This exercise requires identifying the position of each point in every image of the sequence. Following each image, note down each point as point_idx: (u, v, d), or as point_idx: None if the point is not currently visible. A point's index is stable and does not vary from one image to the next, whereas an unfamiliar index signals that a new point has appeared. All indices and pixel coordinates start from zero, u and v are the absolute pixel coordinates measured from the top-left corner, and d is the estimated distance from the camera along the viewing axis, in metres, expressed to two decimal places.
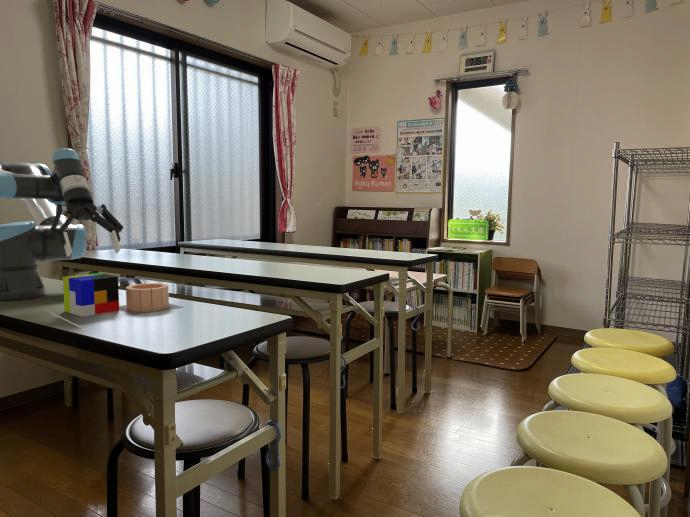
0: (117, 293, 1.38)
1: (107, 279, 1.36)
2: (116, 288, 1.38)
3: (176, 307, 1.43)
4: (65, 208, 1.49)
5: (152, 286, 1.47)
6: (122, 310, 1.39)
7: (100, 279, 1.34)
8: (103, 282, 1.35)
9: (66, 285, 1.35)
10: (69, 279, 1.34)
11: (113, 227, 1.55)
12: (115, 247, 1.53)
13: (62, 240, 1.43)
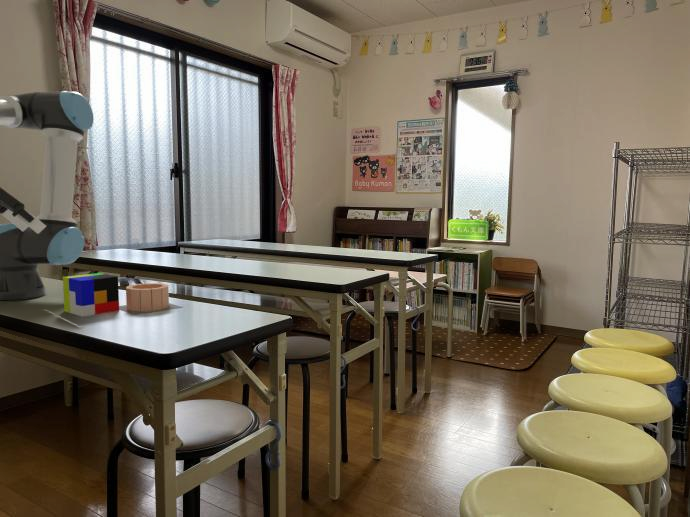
0: (117, 293, 1.38)
1: (107, 279, 1.36)
2: (116, 288, 1.38)
3: (176, 307, 1.43)
4: None
5: (152, 286, 1.47)
6: (122, 310, 1.39)
7: (100, 279, 1.34)
8: (103, 282, 1.35)
9: (66, 285, 1.35)
10: (69, 279, 1.34)
11: (12, 211, 1.22)
12: None
13: None
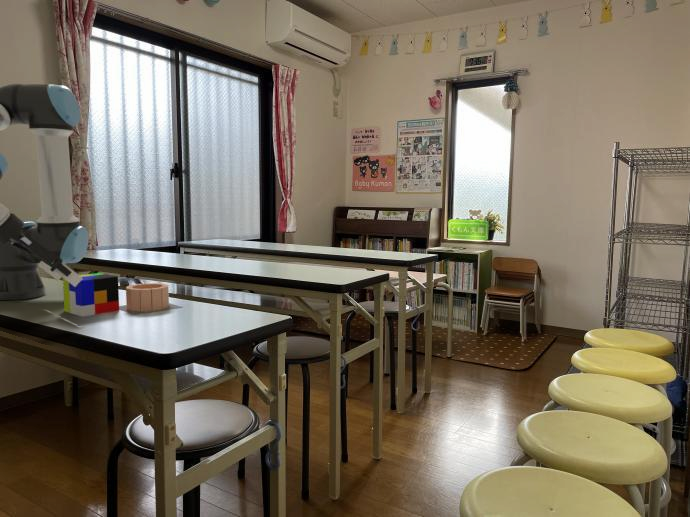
0: (117, 293, 1.38)
1: (107, 279, 1.36)
2: (116, 288, 1.38)
3: (176, 307, 1.43)
4: None
5: (152, 286, 1.47)
6: (122, 310, 1.39)
7: (100, 279, 1.34)
8: (103, 282, 1.35)
9: (66, 285, 1.35)
10: None
11: (50, 266, 1.22)
12: None
13: None
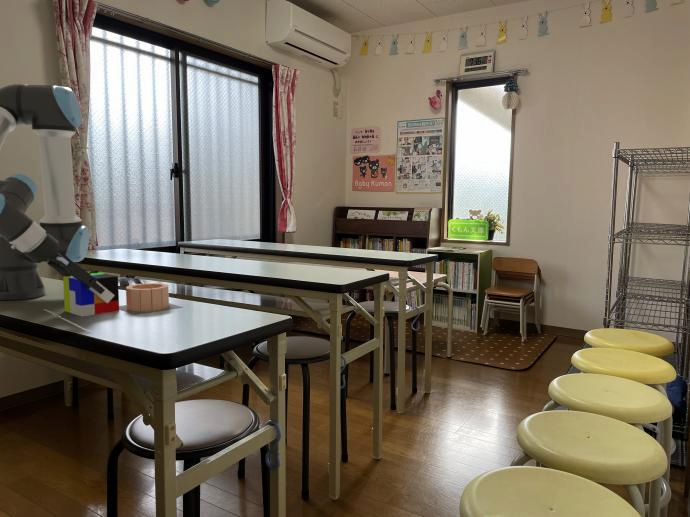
0: (117, 293, 1.38)
1: (107, 279, 1.36)
2: (116, 288, 1.38)
3: (176, 307, 1.43)
4: None
5: (152, 286, 1.47)
6: (122, 310, 1.39)
7: (100, 279, 1.34)
8: (103, 282, 1.35)
9: (66, 285, 1.35)
10: (69, 279, 1.34)
11: (85, 284, 1.30)
12: None
13: None
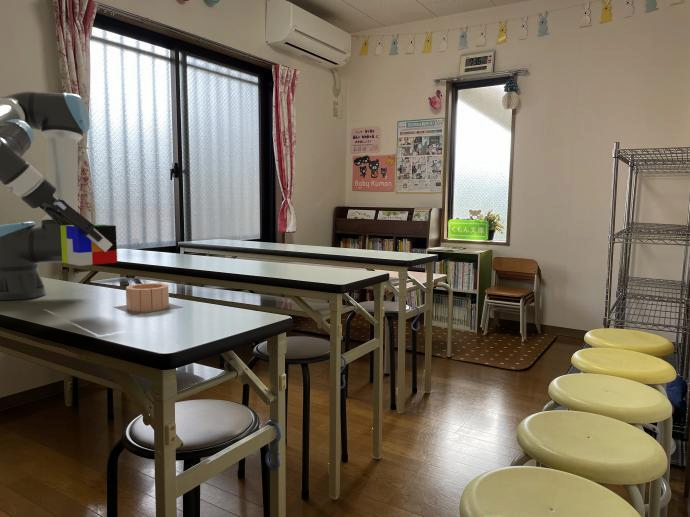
0: (115, 242, 1.37)
1: (105, 227, 1.34)
2: (114, 237, 1.36)
3: (176, 307, 1.43)
4: None
5: (152, 286, 1.47)
6: (122, 310, 1.39)
7: (97, 227, 1.33)
8: (101, 230, 1.33)
9: (63, 233, 1.34)
10: (66, 227, 1.32)
11: (82, 231, 1.29)
12: None
13: None
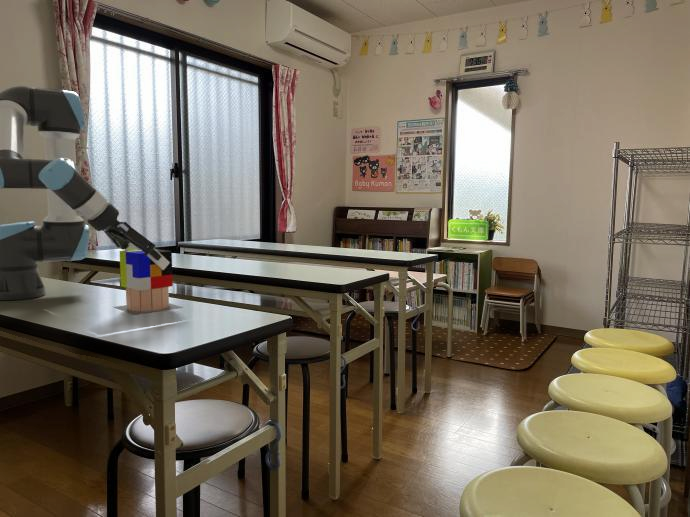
0: (171, 267, 1.42)
1: (162, 253, 1.40)
2: (170, 262, 1.42)
3: (176, 307, 1.43)
4: None
5: None
6: (122, 310, 1.39)
7: None
8: None
9: (123, 259, 1.40)
10: (126, 253, 1.38)
11: None
12: None
13: None
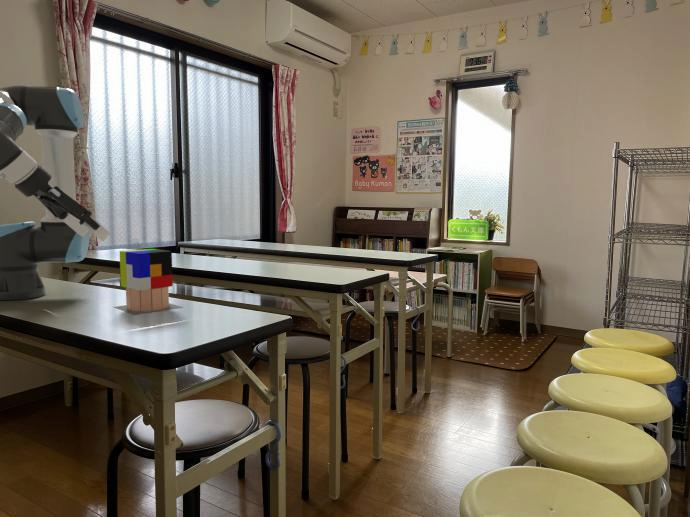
0: (171, 267, 1.42)
1: (162, 253, 1.40)
2: (170, 262, 1.42)
3: (176, 307, 1.43)
4: None
5: None
6: (122, 310, 1.39)
7: (155, 253, 1.39)
8: (158, 256, 1.39)
9: (123, 259, 1.40)
10: (126, 253, 1.38)
11: (79, 219, 1.21)
12: None
13: None
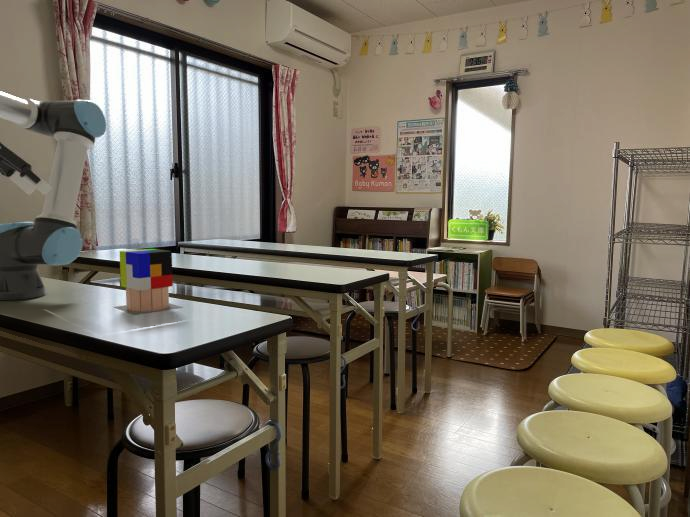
0: (171, 267, 1.42)
1: (162, 253, 1.40)
2: (170, 262, 1.42)
3: (176, 307, 1.43)
4: None
5: None
6: (122, 310, 1.39)
7: (155, 253, 1.39)
8: (158, 256, 1.39)
9: (123, 259, 1.40)
10: (126, 253, 1.38)
11: (19, 172, 1.27)
12: None
13: None
